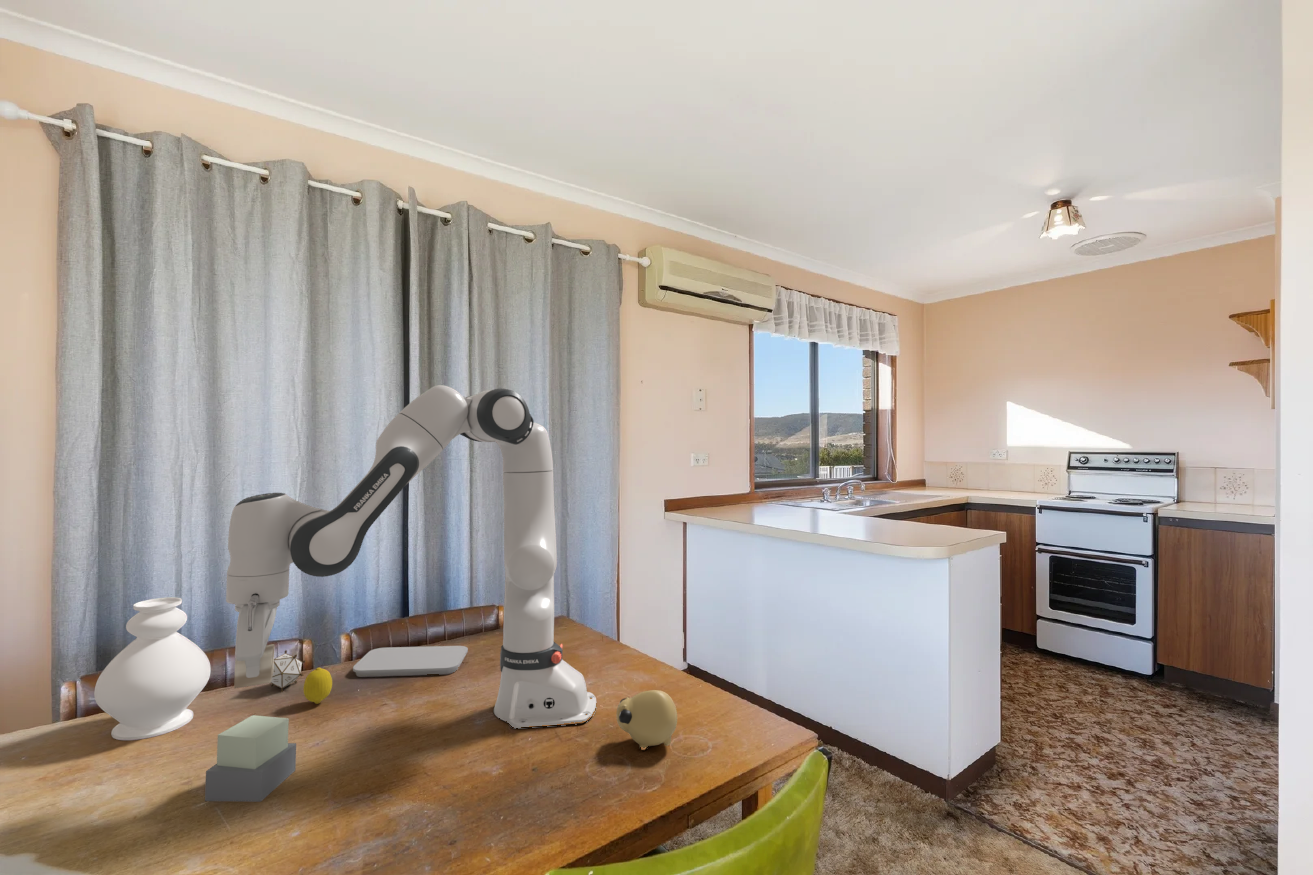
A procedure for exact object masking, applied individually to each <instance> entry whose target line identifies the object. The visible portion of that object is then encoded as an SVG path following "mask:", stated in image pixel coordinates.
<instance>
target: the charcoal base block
mask: <svg viewBox="0 0 1313 875" xmlns="http://www.w3.org/2000/svg"><path fill="white" fill-rule="evenodd" d="M296 758H297V743H296V742H293V743H292V742H291V743H289V742H288V747H287V748H286V749H284V750H283V751H281V752H280V753H278V754H277V755H275V756H274V757H272V758H271V759H269V760H268V761H266V762H265V763H263V764H262V765H260V766H259V767H258V768H256V769H248V768H238V767H228V766H218V765H217V763H215V764H214V765H213V766H211V767H209V768H208V769H207V770H206V771H205V789H204V790H205V791H204V801H205V802H256V803H257V802H259V803H260V802H262V801H263V800H265V798H267V797H268V796H269V795H270V794H271V793H272V792H273V791H274V790H275V789H276V788H278V787H279V786H280V785H281V784H282V783H283V782H284V781H285V780H287V778H289V777H290V776H291V775H292V774H293V773H294V772H296V767H297V766H296V765H297V764H296V762H297V761H296V760H297V759H296Z"/></svg>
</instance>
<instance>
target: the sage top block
mask: <svg viewBox="0 0 1313 875" xmlns="http://www.w3.org/2000/svg"><path fill="white" fill-rule="evenodd" d="M289 720H290V719H289V718H288V717H275V716H265V715H254V714H253V715H250V716H249V717H246V718H245V719H243V720H241V721H240V722H238V723H236V724H235V725H233V726H231V727H230V728H227V729H226V730H224V731H222V732H221V733H218V734H217V742H216V744H217V747H216V749H217V750H216V764H217V765H218V766H228V767H238V768H248V769H256V768H258V767H259V766H260V765H262V764H263V763H265V762H266V761H268V760H269V759H271V758H272V757H274V756H275V755H277V754H278V753H280V752H281V751H283V750H284V749H286V748H287V747H288V743H289V724H290V723H289V722H290V721H289Z"/></svg>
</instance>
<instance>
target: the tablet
mask: <svg viewBox="0 0 1313 875" xmlns="http://www.w3.org/2000/svg"><path fill="white" fill-rule="evenodd" d="M468 650H469V648H468V647H467V646H464V645H444V646H443V645H440V646H439V645H438V646H436V645H435V646H430V645H429V646H428V645H427V646H401V647H400V646H396V647H393V646H391V647H389V646H388V647H379V648H374V649H370V650H369V651H368V652H367V653H366V654H364V655H363V656H362V657H361V659H360V660H358V661H357V662H356V663H355V664H354V665H353V667H352V671H353V672H354V673H355V675H356V677H359V678H368V677H370V678H371V677H399V676H400V677H401V676H403V677H404V676H428V675H427V674H439V675H450V674H453V672H454V673H455V671H456V670H457V671H458V670H459V668H460V666H461V665H462V662H463V661H464V659H465V657H466V655H467V654H468V652H469V651H468ZM458 667H459V668H458ZM457 671H456V672H457Z"/></svg>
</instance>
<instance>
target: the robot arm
mask: <svg viewBox="0 0 1313 875" xmlns="http://www.w3.org/2000/svg"><path fill="white" fill-rule="evenodd" d="M459 435H460V436H462V437H464V438H467V439H468V440H469V441H470V440H471V441H473V442H481V443H482V442H485V443H496V444H497V445H498V447H499V449H500V452H501V456H502V486H503V489H502V490H503V563H504V564H503V565H504V566H503V567H504V572H505V576H504V600H503V601H504V602H503V630H502V631H503V636H502V639H503V640H502V645H501V646H500V653H499V654H500V655H499V667H500V668H499V669H500V672H501V673H500V674H501V676H500V681H499V688H498V693H497V698H496V700H495V705H494V707H493V713H494V715H495V717H497V718H498V719H499V718H500V719H499V720H501V721H504V722H506V721H507V722H506V723H509V724H510V725H511V726H512V727H514V728H513V729H516V728H518V729H522V728H521V727H529V726H542V725H557V724H564V723H571V722H574V723H575V722H582V721H586V720H587V719H588V718H589V717H591V716H592V714H593V712H594V711H595V708H596V709H597V707H596V703H597V698H596V696H595V694H594V693H593V692H590V691H587V684H586V681H585V677H584V675H583V674H582V673H581V672H580V671H579V670H577V669H575V668H574V667H573V666H571V664H569V663H568V662H566V661H565V660H564V659H563V650H564V649H563V643H561V644H558V643H557V642H555V641H554V640H555V639H554V638H555V637H554V634H555V633H554V632H555V573H556V570H557V566H558V554H557V553H558V552H557V551H558V550H557V535H556V533H557V532H556V516H555V515H556V514H555V511H556V510H555V492H554V491H555V488H554V487H555V486H554V485H555V484H554V483H555V482H554V461H553V460H554V459H553V452H552V451H553V450H552V446H551V441H550V440H551V439H550V436H549V432H548V431H547V429H546V427H544V426H543V425H542V424H540V423H537V422H535V421H534V418H533V417H532V414H531V413H530V409H529V407H528V404H527V402H526V401H525V400H524V398H523V397H522V395H520V394H519V393H517V391H514V390H511V389H508V388H507V389H506V388H503V387H502V388H501V387H500V388H499V387H498V388H494V389H486V390H483V391H480V392H478V393H476V394H473V395H470V396H469V395H468V396H466V397H465V396H463V395H462V394H461V393H460V392H459V391H457V390H456V389H454V388H453V387H451V386H447V385H445V384H444V385H443V384H439V385H438V384H437V385H434V386H432V387H430V388H429V389H427V390H426V391H424V392H423V393H422V394H420V395H418V396H417V397H416V398H414V399H413V400H412V401H411V402H409V403H408V404H407V405H406V406H405V407H404V408H402V409H401V411H399V412H398V413H397V415H395V416H394V418H393V419H391V421H390V422H389V423H388V424H387V425H386V427H385V428H384V430H383V431H382V432H381V433H380V435H379V437H378V438H377V440H376V443H375V456H374V460H373V463H372V466H371V467H370V469H369V471H368V472H367V473H366V475H364V477H363V478H362V479H361V480H360V481H359V482H358V483H357V485H356V486H354V487H353V488H352V489H351V491H350V492H349V493H348V494H347V495H346V496H345V497H344V498H343V499H342V500H341V501H340V502H339V503H338V504H337V505H336V506H335V507H334V508H333V509H331V510H330V511H329V510H327V509H322V508H318V507H314V506H311V505H309V504H306V503H303V502H300V501H299V500H296V499H294V498H292V497H290V496H289V495H288V494H287V493H284V492H272V493H271V492H268V493H263V494H262V493H261V494H256V495H252V496H248V497H246V498H244V499H242V500H240V501H239V502H238V503H236V504H235V505H234V507H233V509H232V512H231V516H230V518H229V519H230V520H229V527H228V539H227V540H228V541H227V550H228V553H229V556H230V557H229V558H230V561H229V565H228V568H227V570H226V571H227V572H226V587H225V588H226V589H225V590H226V592H225V593H226V594H225V602H226V603H227V604H230V605H234V611H235V612H237V613H238V617H237V623H236V634H235V635H236V636H235V648H234V649H235V650H234V651H235V653H234V655H235V658H236V660H237V661H244V660H245V664H246V677H247V678H252V677H257V676H258V675H259V673H260V658H261V657H262V656H263V654H264V651H265V648H266V645H268V641H269V639H270V635H271V633H272V629H273V626H274V625H275V621H276V616H277V612H278V611H277V610H278V608H279V606H280V605H281V601H280V600H282V599H284V598H285V599H286V598H287V597H288V596H289V589H290V566H291V564H294V565H295V566H296V568H297V569H299V571H301V572H303V573H305V574H306V575H309V576H312V577H316V578H317V577H319V578H322V577H324V578H325V577H329V576H330V577H331V576H334V575H338V574H340V573H341V572H343V571H345V570H346V569H348V568H349V567H350V566H351V565H352V564H353V563H354V561H356V559H357V557H358V555H359V553H360V551H361V548H362V545H363V542H364V540H365V536H366V535H367V533H368V531H369V529H370V528H371V526H372V525H373V524H374V523H375V522H376V521H377V519H379V517H380V515H382V514H383V512H384V511H385V510H386V509H387V508H388V507H389V505H390V504H391V503H392V502H393V501H394V500H395V498H396V497H397V496H398V495H399V494H400V492H401V491H402V490H403V489H404V488H405V487H406V486H407V485H408V484H409V483H410V482H411V481H412V480H413V479H414V478H415V477H416V476H417V475H418V474H420V473H421V471H423V470H424V469H425V468H426V467H428V466H429V465H430V464H431V463H432V462H433V461H434V460H435V459H436V458H437V457H438V456H439V455H440V454H441V453H442V452H443V451H444V450H445V448H446V447H447V446H448V445H449V444H450V442H452V440H454V439H455V438H457V436H459ZM590 698H592V699H590ZM595 712H596V711H595ZM586 714H587V715H586ZM509 724H508V725H509ZM510 725H509V726H510ZM511 726H510V727H511ZM512 727H511V728H512Z"/></svg>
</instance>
